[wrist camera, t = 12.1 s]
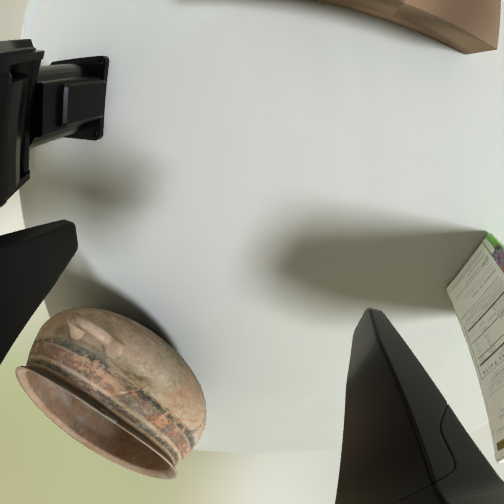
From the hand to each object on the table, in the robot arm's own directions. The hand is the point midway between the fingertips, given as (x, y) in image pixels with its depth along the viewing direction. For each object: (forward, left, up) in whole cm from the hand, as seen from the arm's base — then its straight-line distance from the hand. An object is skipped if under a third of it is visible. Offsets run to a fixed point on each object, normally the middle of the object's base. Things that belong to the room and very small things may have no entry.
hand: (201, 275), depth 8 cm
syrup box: (+18, -3, -12) cm, 22 cm away
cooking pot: (-10, -22, -12) cm, 27 cm away
